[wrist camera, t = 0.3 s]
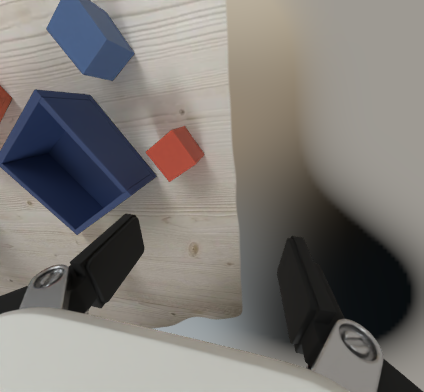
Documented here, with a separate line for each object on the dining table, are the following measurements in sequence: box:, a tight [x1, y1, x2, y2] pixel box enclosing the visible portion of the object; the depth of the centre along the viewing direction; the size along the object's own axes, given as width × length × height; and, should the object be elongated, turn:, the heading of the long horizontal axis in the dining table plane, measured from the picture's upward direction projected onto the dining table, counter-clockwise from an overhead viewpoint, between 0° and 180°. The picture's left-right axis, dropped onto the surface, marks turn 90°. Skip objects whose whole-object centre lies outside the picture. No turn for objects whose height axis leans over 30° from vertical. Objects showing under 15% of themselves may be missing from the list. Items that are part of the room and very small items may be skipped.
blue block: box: [46, 0, 134, 81], centre depth 18 cm, size 4×4×4 cm
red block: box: [146, 126, 204, 182], centre depth 22 cm, size 4×4×4 cm
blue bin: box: [0, 90, 157, 235], centre depth 24 cm, size 14×14×7 cm
